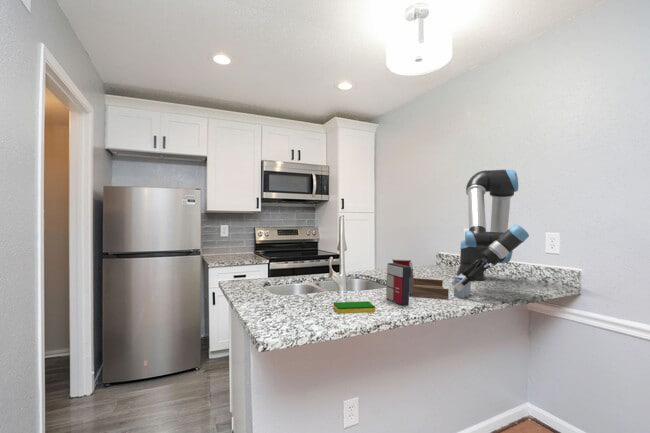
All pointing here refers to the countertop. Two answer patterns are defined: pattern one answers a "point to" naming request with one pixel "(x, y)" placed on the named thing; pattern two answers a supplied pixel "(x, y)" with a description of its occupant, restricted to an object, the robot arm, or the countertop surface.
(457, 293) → the medicine box
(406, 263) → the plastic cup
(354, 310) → the dish sponge
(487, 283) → the countertop surface
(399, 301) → the grey and red box
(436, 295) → the wooden tray
